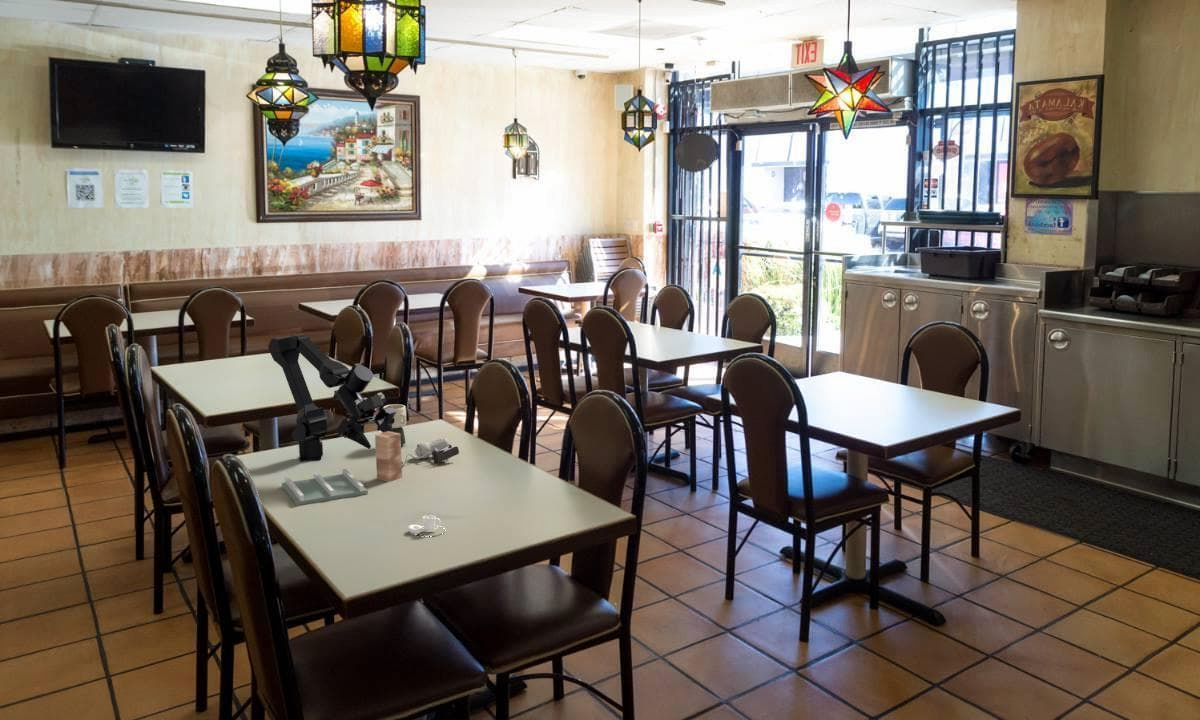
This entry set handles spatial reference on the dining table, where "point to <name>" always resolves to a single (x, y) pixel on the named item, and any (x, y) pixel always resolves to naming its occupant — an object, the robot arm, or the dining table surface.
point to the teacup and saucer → (425, 525)
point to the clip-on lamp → (435, 450)
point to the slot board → (323, 488)
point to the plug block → (388, 456)
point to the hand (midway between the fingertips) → (382, 444)
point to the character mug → (399, 420)
